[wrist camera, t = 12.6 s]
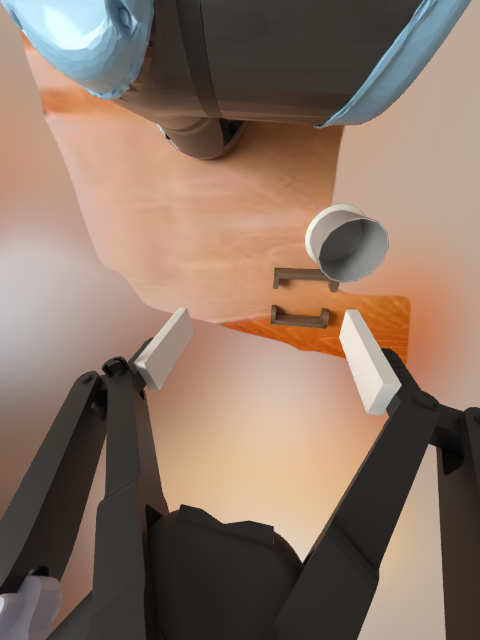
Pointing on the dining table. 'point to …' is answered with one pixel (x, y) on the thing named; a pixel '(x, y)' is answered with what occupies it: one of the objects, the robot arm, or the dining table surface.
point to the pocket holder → (300, 319)
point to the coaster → (322, 214)
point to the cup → (348, 245)
